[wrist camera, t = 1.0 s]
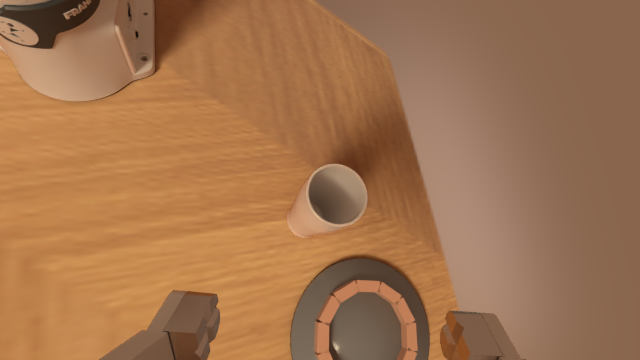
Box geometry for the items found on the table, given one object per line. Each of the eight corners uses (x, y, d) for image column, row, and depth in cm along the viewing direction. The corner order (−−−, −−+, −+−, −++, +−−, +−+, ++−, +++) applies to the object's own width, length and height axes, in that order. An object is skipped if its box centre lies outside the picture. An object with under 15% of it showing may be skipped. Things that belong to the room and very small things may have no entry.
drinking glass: (326, 199, 46) (367, 165, 33) (326, 244, 44) (370, 229, 30) (282, 195, 45) (306, 158, 31) (279, 242, 42) (304, 225, 29)
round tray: (295, 254, 43) (298, 253, 40) (421, 262, 48) (430, 261, 45) (284, 428, 36) (288, 437, 34) (431, 415, 41) (442, 423, 39)
